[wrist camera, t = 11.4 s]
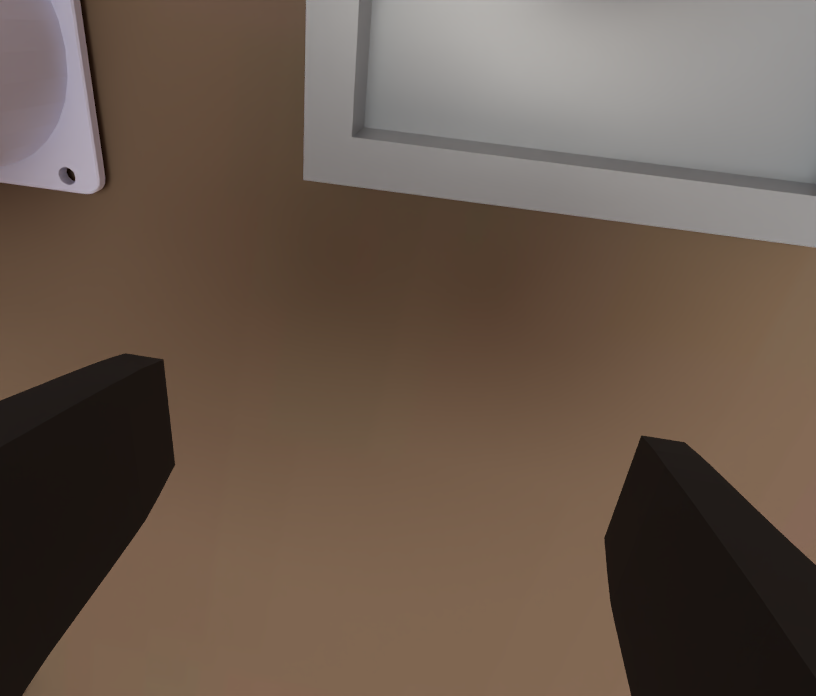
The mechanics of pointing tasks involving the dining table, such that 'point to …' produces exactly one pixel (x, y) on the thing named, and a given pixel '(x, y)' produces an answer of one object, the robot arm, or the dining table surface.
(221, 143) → the dining table surface
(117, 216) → the dining table surface
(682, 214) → the tray
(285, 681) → the dining table surface
